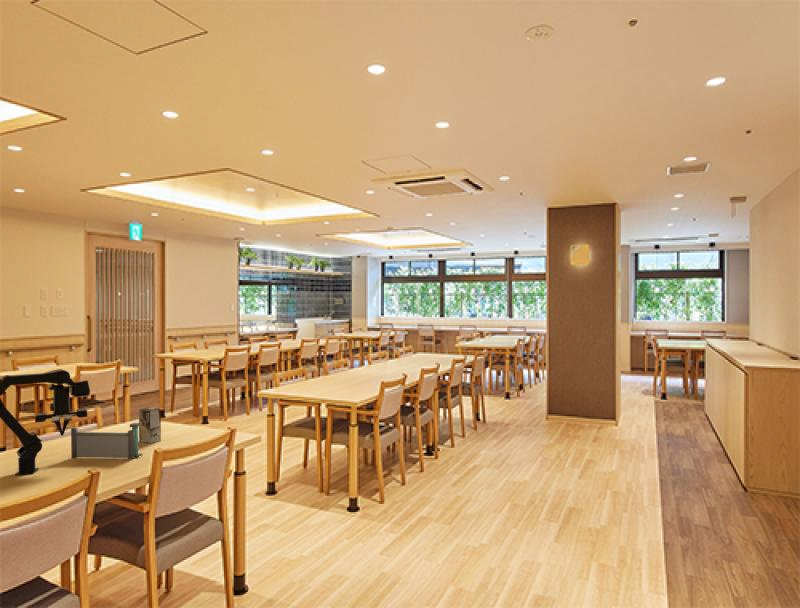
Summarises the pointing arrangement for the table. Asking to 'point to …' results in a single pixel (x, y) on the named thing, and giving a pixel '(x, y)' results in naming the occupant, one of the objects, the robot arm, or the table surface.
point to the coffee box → (150, 425)
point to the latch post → (136, 438)
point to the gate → (102, 444)
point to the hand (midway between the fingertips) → (62, 435)
